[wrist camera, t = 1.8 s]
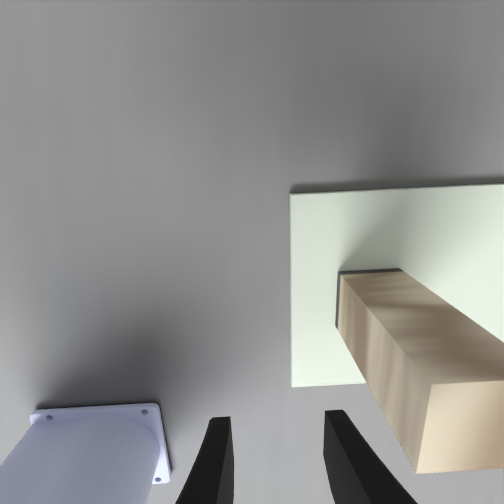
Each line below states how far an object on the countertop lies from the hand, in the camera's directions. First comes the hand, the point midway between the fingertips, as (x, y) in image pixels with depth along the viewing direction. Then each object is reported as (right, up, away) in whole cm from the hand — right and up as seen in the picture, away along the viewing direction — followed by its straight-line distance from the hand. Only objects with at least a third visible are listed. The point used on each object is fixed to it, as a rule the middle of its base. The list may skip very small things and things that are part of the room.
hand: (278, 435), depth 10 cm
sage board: (+10, +4, +10) cm, 14 cm away
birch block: (+7, +3, +9) cm, 12 cm away
